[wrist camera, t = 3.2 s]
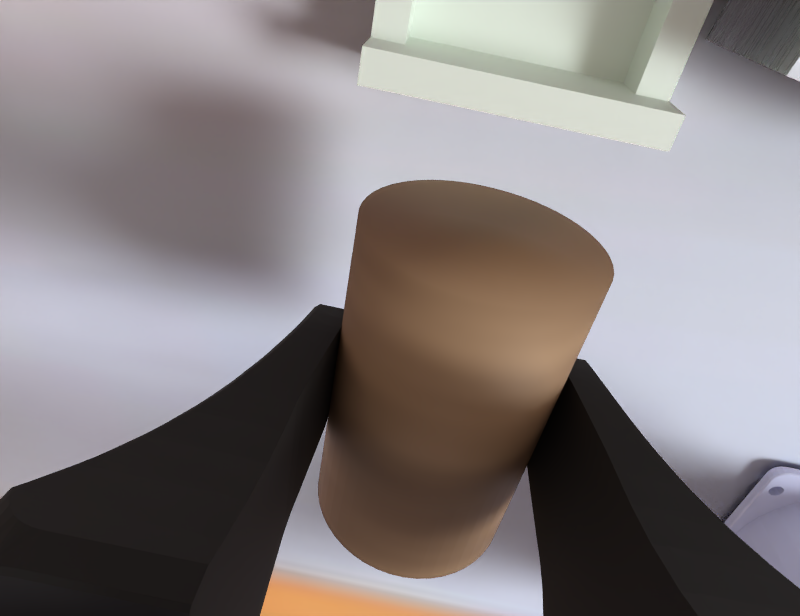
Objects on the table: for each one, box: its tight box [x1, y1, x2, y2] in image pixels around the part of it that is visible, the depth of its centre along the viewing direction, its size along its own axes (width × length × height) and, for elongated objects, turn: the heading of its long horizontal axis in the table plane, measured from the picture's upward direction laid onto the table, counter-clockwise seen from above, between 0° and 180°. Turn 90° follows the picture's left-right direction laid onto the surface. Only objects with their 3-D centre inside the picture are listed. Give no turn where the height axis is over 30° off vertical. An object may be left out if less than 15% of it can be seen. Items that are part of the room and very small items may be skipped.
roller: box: [318, 180, 614, 579], centre depth 12 cm, size 7×4×4 cm, turn 170°
